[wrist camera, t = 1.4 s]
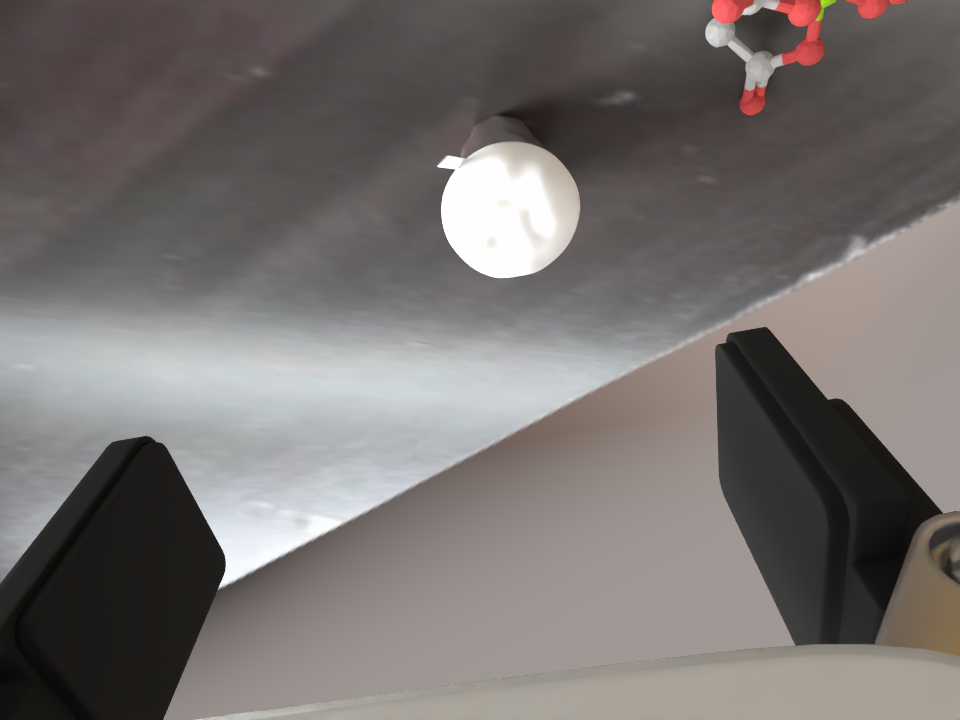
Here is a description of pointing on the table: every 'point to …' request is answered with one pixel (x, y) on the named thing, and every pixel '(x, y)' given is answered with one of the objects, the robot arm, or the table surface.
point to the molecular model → (803, 9)
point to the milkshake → (508, 200)
